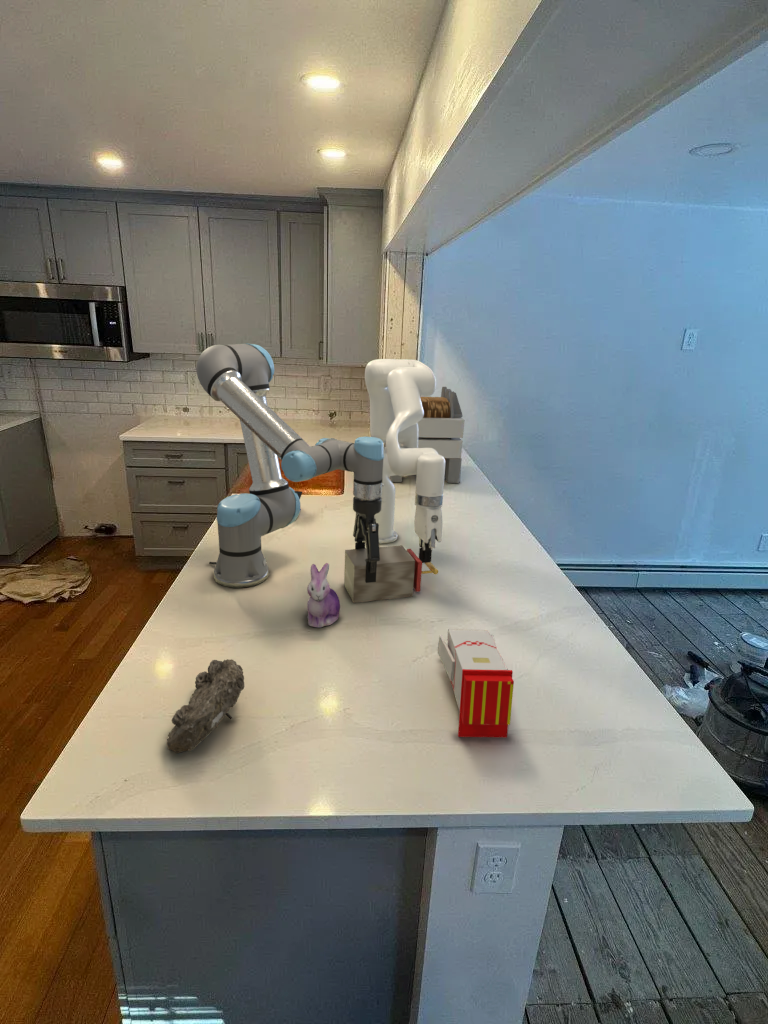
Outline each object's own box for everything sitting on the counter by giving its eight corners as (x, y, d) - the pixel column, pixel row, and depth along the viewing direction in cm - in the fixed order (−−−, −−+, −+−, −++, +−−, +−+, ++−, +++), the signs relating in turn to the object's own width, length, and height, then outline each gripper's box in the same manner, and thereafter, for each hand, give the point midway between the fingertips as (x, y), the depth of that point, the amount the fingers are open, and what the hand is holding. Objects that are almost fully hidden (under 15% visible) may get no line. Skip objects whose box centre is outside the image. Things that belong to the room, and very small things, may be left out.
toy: (488, 613, 130) (523, 677, 101) (484, 667, 133) (517, 744, 104) (435, 612, 130) (455, 676, 101) (432, 666, 133) (451, 743, 103)
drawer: (426, 574, 168) (428, 547, 165) (438, 589, 159) (440, 560, 156) (357, 581, 162) (358, 553, 159) (366, 597, 153) (367, 567, 150)
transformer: (382, 463, 289) (386, 382, 275) (445, 464, 293) (451, 384, 279) (390, 482, 257) (394, 392, 243) (460, 483, 261) (468, 394, 247)
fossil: (192, 660, 117) (244, 628, 112) (224, 691, 120) (276, 661, 115) (142, 746, 98) (202, 712, 93) (182, 779, 101) (242, 748, 96)
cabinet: (400, 579, 166) (402, 545, 163) (412, 596, 157) (415, 560, 153) (344, 585, 162) (344, 549, 158) (353, 603, 152) (354, 566, 148)
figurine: (312, 633, 137) (312, 577, 132) (298, 613, 145) (298, 559, 140) (348, 624, 141) (349, 570, 136) (332, 606, 150) (333, 554, 144)
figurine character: (298, 524, 207) (303, 507, 221) (298, 506, 204) (302, 489, 217) (280, 524, 207) (285, 506, 220) (279, 505, 204) (285, 488, 217)
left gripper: (394, 510, 139) (390, 590, 147) (369, 483, 160) (366, 554, 167) (365, 512, 137) (362, 593, 144) (343, 484, 158) (342, 556, 165)
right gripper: (452, 507, 148) (447, 571, 154) (431, 491, 162) (427, 550, 168) (425, 509, 146) (421, 573, 152) (406, 492, 160) (403, 552, 166)
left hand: (364, 572), depth 156 cm, fingers closed on cabinet, 11 cm apart
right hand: (424, 561), depth 160 cm, fingers closed
